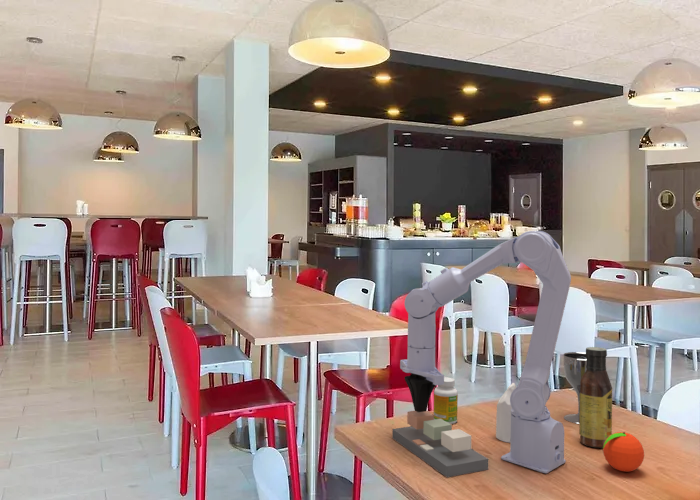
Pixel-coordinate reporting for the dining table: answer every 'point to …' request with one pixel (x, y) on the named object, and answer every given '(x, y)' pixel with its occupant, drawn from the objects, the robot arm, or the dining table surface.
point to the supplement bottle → (446, 401)
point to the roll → (504, 416)
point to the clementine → (623, 451)
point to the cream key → (456, 440)
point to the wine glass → (574, 376)
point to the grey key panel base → (439, 453)
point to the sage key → (435, 428)
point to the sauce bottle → (595, 400)
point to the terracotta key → (418, 418)
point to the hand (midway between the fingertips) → (420, 410)
